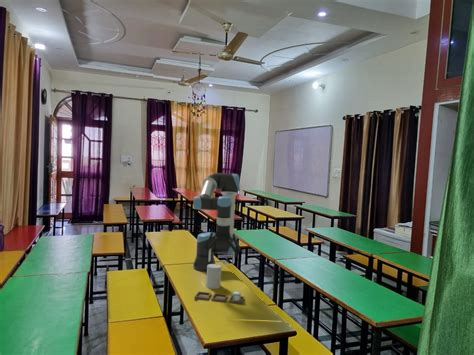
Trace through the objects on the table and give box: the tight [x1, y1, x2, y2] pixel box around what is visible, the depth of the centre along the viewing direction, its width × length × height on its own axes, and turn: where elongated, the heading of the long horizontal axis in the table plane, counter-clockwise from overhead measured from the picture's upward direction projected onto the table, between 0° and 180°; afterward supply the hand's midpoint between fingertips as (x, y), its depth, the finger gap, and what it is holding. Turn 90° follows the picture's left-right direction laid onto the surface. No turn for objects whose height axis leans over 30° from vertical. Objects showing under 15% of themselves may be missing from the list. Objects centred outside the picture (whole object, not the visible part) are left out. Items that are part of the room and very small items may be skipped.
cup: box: [205, 263, 222, 290], centre depth 195 cm, size 8×8×12 cm
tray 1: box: [193, 290, 212, 301], centre depth 179 cm, size 7×7×2 cm
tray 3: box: [228, 294, 245, 305], centre depth 177 cm, size 7×7×2 cm
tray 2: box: [210, 292, 229, 303], centre depth 178 cm, size 7×7×2 cm
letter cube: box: [232, 291, 242, 301], centre depth 176 cm, size 4×4×4 cm
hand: (221, 262), depth 189 cm, fingers open, 13 cm apart
